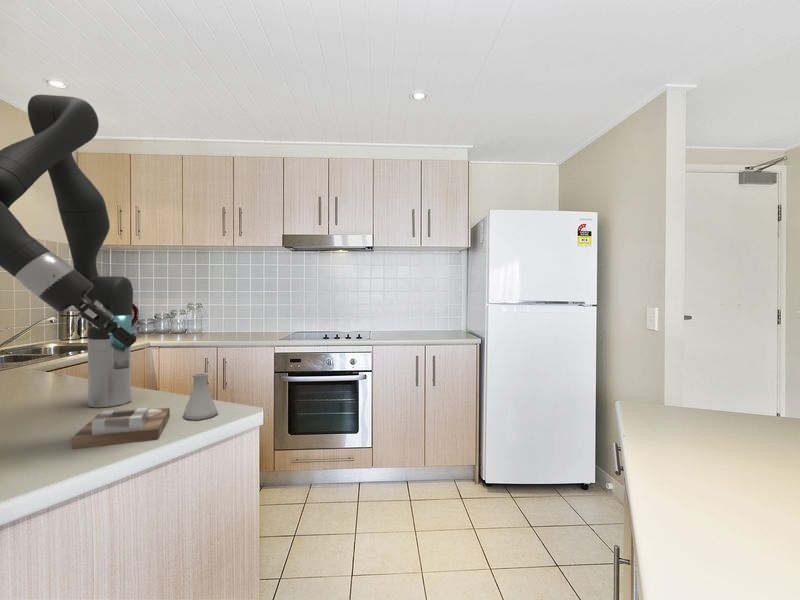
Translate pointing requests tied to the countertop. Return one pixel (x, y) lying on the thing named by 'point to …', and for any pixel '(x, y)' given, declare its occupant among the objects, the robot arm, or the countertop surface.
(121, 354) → the peg
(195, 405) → the flask
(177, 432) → the countertop surface
